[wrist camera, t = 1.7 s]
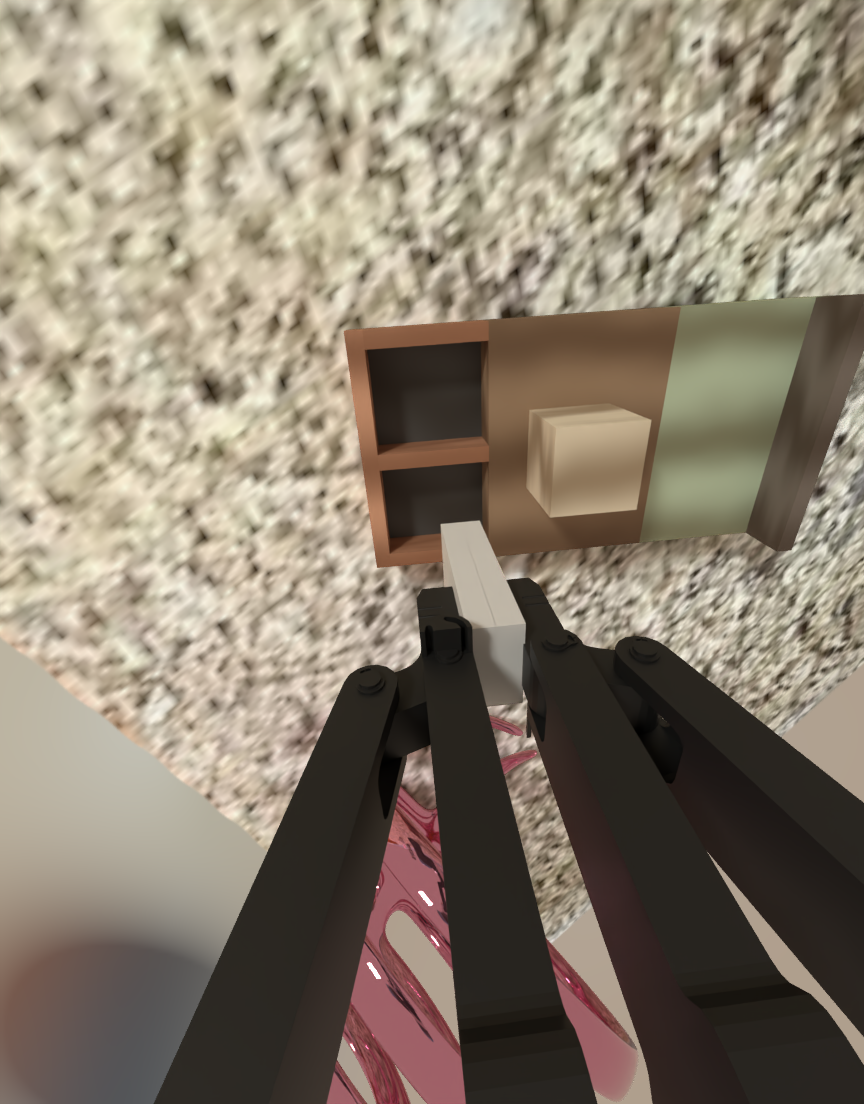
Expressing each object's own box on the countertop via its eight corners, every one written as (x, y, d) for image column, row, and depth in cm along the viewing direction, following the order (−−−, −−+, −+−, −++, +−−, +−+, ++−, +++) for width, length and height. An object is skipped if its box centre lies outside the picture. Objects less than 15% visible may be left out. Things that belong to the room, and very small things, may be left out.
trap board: (348, 329, 27) (338, 333, 22) (791, 297, 28) (884, 293, 23) (378, 548, 34) (375, 590, 29) (731, 515, 35) (791, 550, 30)
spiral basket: (761, 831, 21) (320, 1780, 11) (707, 913, 39) (524, 1297, 30) (393, 595, 39) (109, 876, 30) (474, 726, 58) (316, 925, 48)
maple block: (529, 409, 27) (556, 428, 23) (609, 403, 27) (651, 419, 23) (526, 487, 29) (550, 517, 25) (599, 481, 30) (636, 509, 25)
